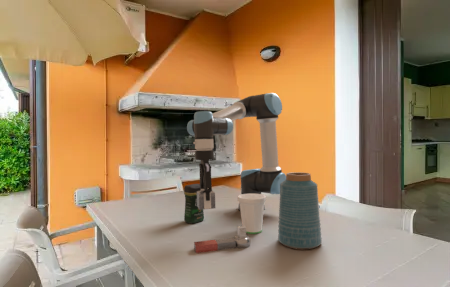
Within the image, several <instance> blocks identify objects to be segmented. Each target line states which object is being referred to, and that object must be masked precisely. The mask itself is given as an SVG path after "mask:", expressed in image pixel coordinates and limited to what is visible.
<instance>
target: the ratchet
mask: <svg viewBox="0 0 450 287" xmlns="http://www.w3.org/2000/svg"><path fill="white" fill-rule="evenodd" d="M236 229H237V230H236V231H237V234H236V235H234V237H233V238H232V237H231V238H226V239H225V238H223V239H210V240H209V239H208V240H200V241H194V242H193V243H194V244H193V249H194V252H195V253H196V254H199V253H207V252H215V251H217V252H218V251H222V250H230V249H236V248H237V249H247V248H249V247H250V246H251V240H250V239H251V238H250V237H251V236H249V235H247V233H246V227H245V226H242V225H237V226H236Z"/></svg>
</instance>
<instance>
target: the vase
mask: <svg viewBox="0 0 450 287" xmlns="http://www.w3.org/2000/svg"><path fill="white" fill-rule="evenodd" d="M285 175H286V180H285V181H283V182H282V183H281V184H280V194H279V205H278V206H279V207H278V208H279V209H278V211H279V212H278V225H277V226H278V229H277V231H278V232H277V233H278V235H277V240H278V242H279V243H280V244H282V245H283V246H285V247H287V248H290V249H294V250H301V251H302V250H303V251H304V250H305V251H306V250H312V249H313V250H314V249H316V248H317V247H319V246H321V244H322V242H323V240H322V239H323V238H322V226H321V225H322V224H321V216H320V205H319V193H318V190H319V189H318V184H317V183H316V182H315V181H314V180H312V177H311V176H312V175H311V173H308V172H303V171H302V172H295V171H294V172H293V171H292V172H288V173H285Z"/></svg>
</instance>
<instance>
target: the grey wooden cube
mask: <svg viewBox="0 0 450 287" xmlns="http://www.w3.org/2000/svg"><path fill="white" fill-rule="evenodd" d="M197 207H198V208H199V210H203V211H204V210H205V209H204V193H203V192H202V191H197ZM212 209H216V193H215V191H214V190H212V191H211V209H210V210H212Z"/></svg>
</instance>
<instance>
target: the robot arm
mask: <svg viewBox="0 0 450 287" xmlns="http://www.w3.org/2000/svg"><path fill="white" fill-rule="evenodd" d="M281 100H282V99H281V98H280V97H279V96H278V94H277V93H274V92H269V93H267V92H266V93H261V94H256V95H249V96H247V97H244V98H243V99H240V100H238V101H235V102H233V103H232V105H230V106H228V107H226V108H223V109H221V110H218V111H215V112H212V111H205V110H203V111H196V112H194V115H193V119H191V120H189V121H188V122H187V124H186V125H187V126H186V130H187V133H188V134H189V135H190V136H192V137H194V141H193V145H194V149H195V151H194V157H195V158H194V159H195V160H196V161H200V163H199V164H198V166H199V184H200V188H201V191H202V192H203V193H204V209H203V210H212V209H211V191H213V189H212V188H213V186H212V183H213V182H212V166H211V163H210V161H211V160H214V159H215V157H214V156H215V151H214V150H213V149H214V148H215V145H214V143H215V142H214V136H227V135H230V134H231V133H232V132H233V129H234V121H236V120H237V119H238V120H243V119H245V118H251V117H252V118H253V117H255V118H256V121H258V123H259V137H260V148H261V149H260V150H261V161H262V162H261V163H262V164H261V165H262V166H261V168H252V169H244V170H242V171H241V172H240V193H241V194H262V193H264V194H271V195H280V184H281V183H282V182H283V181H285V180H286V173H284V172H283V170H282V167H281V166H279V154H278V153H279V152H278V139H277V138H278V136H277V135H278V134H277V121H278V119H279V115H280V114H282V111H283V103H282V101H281ZM241 194H240V195H241ZM264 210H265V204H264ZM238 211H240V203H239V202H238Z"/></svg>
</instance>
